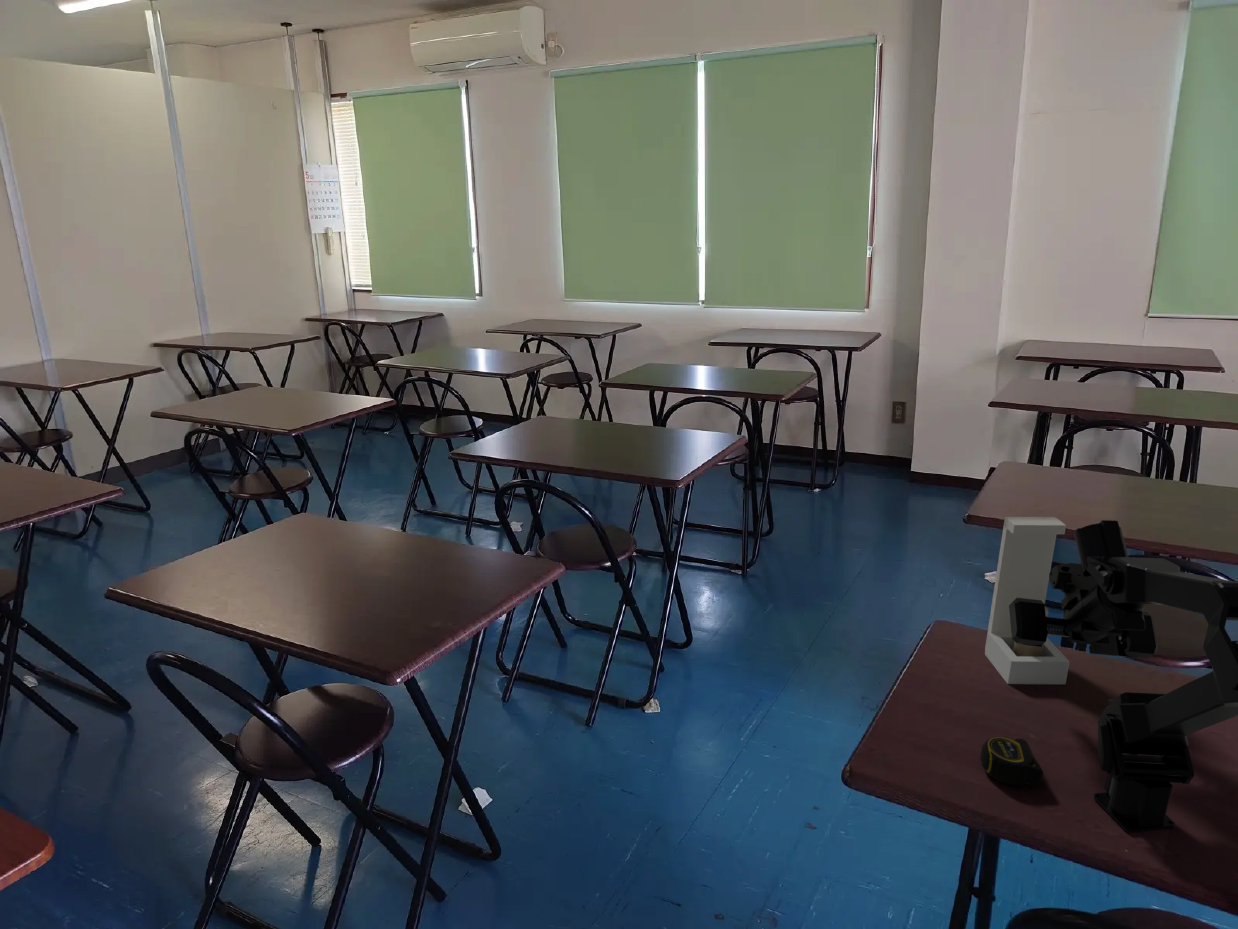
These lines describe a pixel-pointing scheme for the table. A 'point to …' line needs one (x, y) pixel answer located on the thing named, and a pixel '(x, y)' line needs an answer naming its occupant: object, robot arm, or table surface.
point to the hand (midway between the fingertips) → (1058, 646)
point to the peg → (1028, 647)
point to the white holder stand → (1025, 578)
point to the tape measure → (1010, 761)
